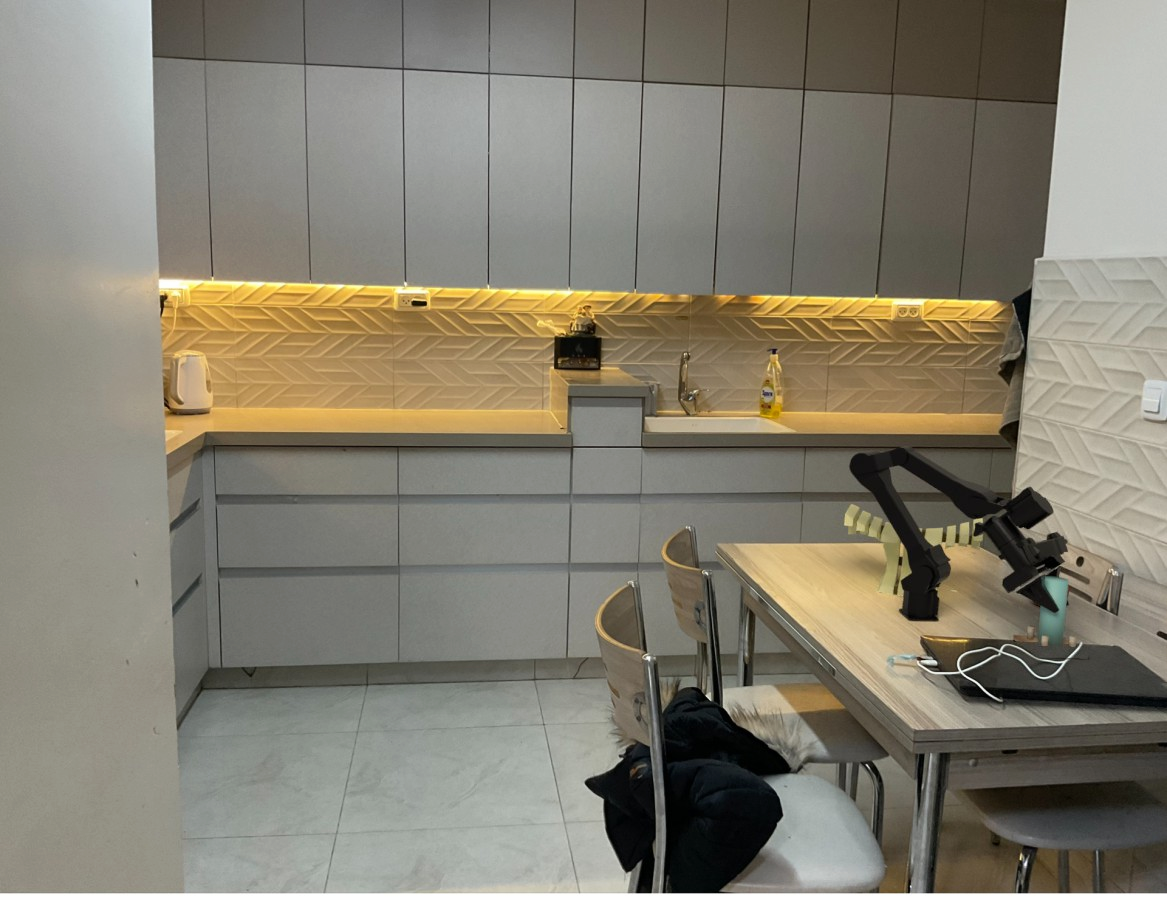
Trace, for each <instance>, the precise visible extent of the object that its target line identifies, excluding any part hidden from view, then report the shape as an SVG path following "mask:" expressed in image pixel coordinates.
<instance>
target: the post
mask: <svg viewBox="0 0 1167 900" xmlns="http://www.w3.org/2000/svg"><path fill="white" fill-rule="evenodd" d="M1045 586H1046V588H1047V590H1048V591H1049V593H1050V594H1051V596H1052V598H1053V599H1054V601H1055V603H1056V605H1057V606H1058V608H1059V611H1058V612H1056V613H1053V612H1051V611H1050V610H1048V609H1046V608H1045V607H1043V606H1041V607H1040V609H1039V610H1040V611H1039V618H1038V619H1039V621H1038V633H1037V635H1038V643H1041V640H1042V635H1046V636H1049V639H1048V644H1051V645H1063V637H1064V635H1065V625H1066V624H1065V623H1066V614H1067V606H1066V603H1067V600H1068V599H1067V592H1068V587H1069V579H1067V578H1064V577H1060V576H1059V577H1054V576H1045ZM1064 638H1065V637H1064Z"/></svg>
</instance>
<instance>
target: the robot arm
mask: <svg viewBox="0 0 1167 900" xmlns="http://www.w3.org/2000/svg"><path fill="white" fill-rule="evenodd" d="M897 466H899V467H901V468H903V469H904V470H906V471H908V472H909V473H910V474H912V475H914V476H916V477H917V478H919V479H920V480H921V481H924V482H925V483H926V484H928V485H930V486H931V487H933V488H935V489H936V490H937V491H939V492H940V493H942V494H943V495H945V496H946V497H947V498H949V500H950V501H951V502H952V504H953V505H954V507H955V508H956V509H958V510H959V511H960V512H962V514H964V516H966V517H967V518H969V519H972V520H975V519H980V518H985V517H989V516H990V515H991V516H990V517H989V518H988V519H986V520H985V521H983V523H981V522H978V523H975V530H974V533H973V536H974V537H976V536H979V535H982V534H983V535H984V534H985V535H986V537H987V538H988V539H989V540H990V542H991V543H992V544H993V546H994V547H995V548H996V550H997V551H998V553H999V555H998V558H999V560H1000V561H1003V560H1005V561H1006V563H1007V564H1008V566H1009V567H1010V568H1011V569H1012V570H1013V572H1011V573H1010V574H1008V575H1007V576H1005V577H1003V579H1002V584H1001V586H1002V587H1003V588H1004V590H1005V591H1006V593H1007V594H1010V593H1011V592H1014V591H1015V590H1016V589H1017V588H1019V589H1018V590H1016V592H1015V594H1017V595H1019V594H1020V595H1022V596H1023V597H1025V598H1027V599H1028V600H1030V601H1032V602H1033V601H1034V602H1036V603H1038V604H1039V605H1041V606H1043V607H1045V608H1046V609H1048V610H1050V611H1051V612H1053V613H1056V612H1058V611H1059V608H1058V606H1057V605H1056V603H1055V601H1054V599H1053V598H1052V596H1051V594H1050V593H1049V591H1048V590H1047V588H1046V586H1045V576H1054V577H1060V574H1061V570H1062V567H1063V566H1062V565H1063V564H1064V563H1065V562H1066V560H1065V558H1063V557H1062V555H1064V554H1065V553H1068V552H1069V549H1068V546H1067V544H1068V539H1066V538H1065V536H1064V535H1061V534H1060V533H1059V532H1058V531H1056V532H1052V533H1051V532H1050V533H1048V534H1047V535H1046V539H1044V540H1041V541H1037V542H1036V541H1035V540H1034V539H1033V537H1025V535H1024V534H1023V533H1022V531H1021V530H1020V529H1023V528H1024V529H1025V530H1031V529H1032V528H1033V527H1036V525H1038V524H1039V523H1042V521H1044V520H1046V519H1047V518H1048V517H1051V515H1053V514H1054V508H1053V507H1052V505H1051V503H1050V501H1049V500H1048V499H1047V498H1046V497H1045V496H1043V495H1042V494H1041V493H1039V492H1038V491H1036V490H1035V489H1033V487H1032V486H1028V487H1026V488H1024V489H1023V490H1022V491H1020V492H1019V494H1017V495H1016V496H1015V497H1013V498H1012V499H1009V498H1005V497H1003V496H999V495H997V493H996V492H995V491H994V490H992V489H990V488H988V487H985V486H983V485H981V484H978V483H975V482H971V481H968V480H964V479H962V478H960V477H958V476H957V475H955V474H953V473H952V472H950V471H948V470H947V469H946V468H943V467H942V466H941V465H939V464H937V463H936V462H934V461H932V460H931V459H929V458H927V457H926V456H925V455H923V454H921V453H920V452H918V451H916V450H915V449H914V448H913V447H912V446H909V445H905V446H899V447H895V448H894V449H891V450H887V451H883V452H881V451H878V450H869V451H863V452H858V453H856V454H854V455H853V456H852V457H851V459H850V462H849V465H848V467H849V471H850V473H851V474H852V476H853V477H854V478H855V479H856V481H857V482H858V483H859V484H860V485H861V486H863V487H864V489H866V490H867V491H868V492H870V493H871V494H872V496H873V497H874V498H875V500H876V502H877V503H878V505H879V506H880V509H881V510H882V512H883V514H884V515H885V517H886V519H887V520H888V522H890V524H891V525H892V527H893V529H894V530H895V532H896V534H897V535H898V537H899V539H900V540H901V545H903V548H904V547H905V549H906V551H907V556H908V563H909V567H910V569H911V572H912V573H911V574H909V575H908V576H906V577H905V578H904V579H902V580H901V585H902V589H903V590H904V594H903V596H902V607H901V608H899V609H898V612H899V613H900V614H901V615H902V616H904V618H906V619H908V620H909V621H923V622H924V621H928V622H938V620H939V617H938V615H939V607H940V597H939V596H938V595H939V591H938V588H939V587H940V586H941V584H942V582H944V581H946V580H947V579H948V578H949V577H950V575H951V571H952V566H951V564H950V561H951V560H952V559H951V558H950V557H949V556H948V555H947V554H946V552H945V550H944V548H943V546H942V544H941V545H940V544H938V545H935V546H933V545H932V544H930V543H929V542H928V541H927V540H926V539H925V537H924V536H923V534H922V532H921V531H920V529H919V528H920V527H919V525H918V524H917V523H916V521H915V519H914V518H913V515H912V514H911V512H910V511H909V509H908V508H907V506H906V503H904V501H903V500H902V498H901V495H900V494H899V493H898V491H897V489H896V488H895V486H894V484H893V482H892V473H891V469H890V468H894V467H897ZM1004 511H1006V512H1004ZM1001 512H1004V513H1003V514H1001V515H1000V516H998V515H997V514H999V513H1001ZM996 515H997V516H996ZM935 588H937V590H936V589H935ZM1034 602H1033V603H1034ZM1069 605H1070V603H1069V600H1068V599H1067V603H1066V607H1069Z"/></svg>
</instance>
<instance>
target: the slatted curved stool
mask: <svg viewBox="0 0 1167 900" xmlns="http://www.w3.org/2000/svg"><path fill="white" fill-rule="evenodd" d="M860 509H861V508H860V506H857V505H856V504H852V503H851V504H850V505H849V506H848V508H847V510H846V512H845V514H844V523H843V525H844V526H846V527H847V528H848V530H847V532H848V533H847V535H849V536H850V535H856V534H857V533H858V532H859V535H865V536H868V537H872V538H873V539H876V540H877V541H879V542H880V543H881V542H882V543H883V544H882V547H883V549H884V553H885V557H886V568H885V571H884V573H883V575H882V576H881V578H880V579H881V581H880V580H879V582H880V584H879V583H878V585H879V587H878V586H877V589H878V590H877V589H876V592H882V593H881V594H884V593H889V594H888V595H891V594H893V593H895V594H893V595H897V596H898V595H903V594H904V590H903V589H902V585H901V580H902V579H904V578H905V577H906V576H908V575H909V574H911V573H912V572H911V569H910V567H909V563H908V556H907V551H906V549H905V547H904V546H903V551H902V556H900V555H901V545H902V542H901V540H900V539H899V537H898V535H897V534H896V532H895V530H894V529H893V527H892V525H891V524H890V522H889V521H885V523H884V525H883V518H881V517H879V516H873V519H871V518H872V513H870V512H868V511H865V510H862V511H861V513H860ZM983 518H984V517H983ZM983 518H980V519H972V520H973V521H972V522H973V523H972V528H971V529H972V530H971V531H972V532H971V534H970V521H968V522H967V521H966V522H962V523H959V533H957V531H956V530H957V529H956V528H957V525H949V526H947V527H946V532H944V531H943V530H944V527H934V528H933V527H931V528H929V527H928V528H925V529H923V527H921V528H920V527H919V529H920V531H921V532H922V534H923V536H924V537H925V539H926V540H927V541H928V542H929V543H930V544H932V545H933V546H935V545H938V544H940V545H941V546H942V545H943V544H942V542H943V543H945V548H944V549H945V550H947V549H949V548H954V547H955V545H956V544H958V547H968V545H969V546H970V548H972V549H975V550H978V551H980V549H981V548H980V547H981V542H983V537H984V534H982V535H979V536H976V537H974V536H973V533H974V530H975V523H978V522H981V523H983V522H984V519H983ZM899 566H900V567H901V569H900V570H901V571H900V575H899V576H900V577H899V581H898V572H899ZM897 581H898V584H897ZM896 585H898V586H896ZM935 589H936V588H935Z"/></svg>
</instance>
